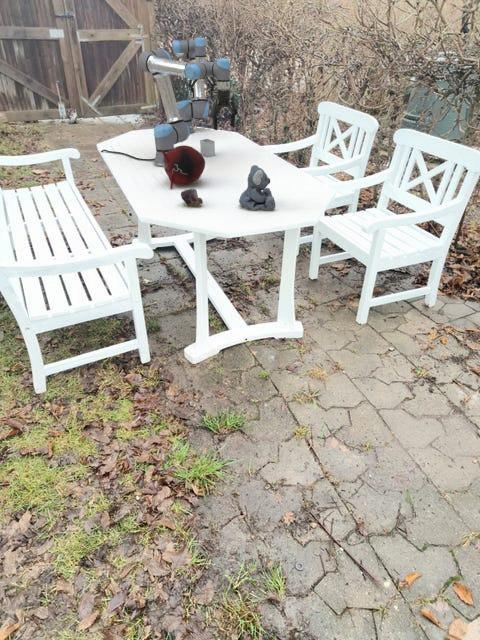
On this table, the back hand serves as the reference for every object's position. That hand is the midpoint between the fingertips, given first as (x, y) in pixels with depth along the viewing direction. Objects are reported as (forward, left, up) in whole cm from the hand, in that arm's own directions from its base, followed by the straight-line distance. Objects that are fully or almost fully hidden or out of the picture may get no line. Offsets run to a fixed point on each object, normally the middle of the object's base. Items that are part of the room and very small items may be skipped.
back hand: (202, 97), depth 325 cm
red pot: (+98, +4, -31) cm, 103 cm away
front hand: (+66, +24, -8) cm, 71 cm away
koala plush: (+134, +48, -31) cm, 146 cm away
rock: (+135, +15, -31) cm, 139 cm away
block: (+37, +8, -31) cm, 49 cm away
